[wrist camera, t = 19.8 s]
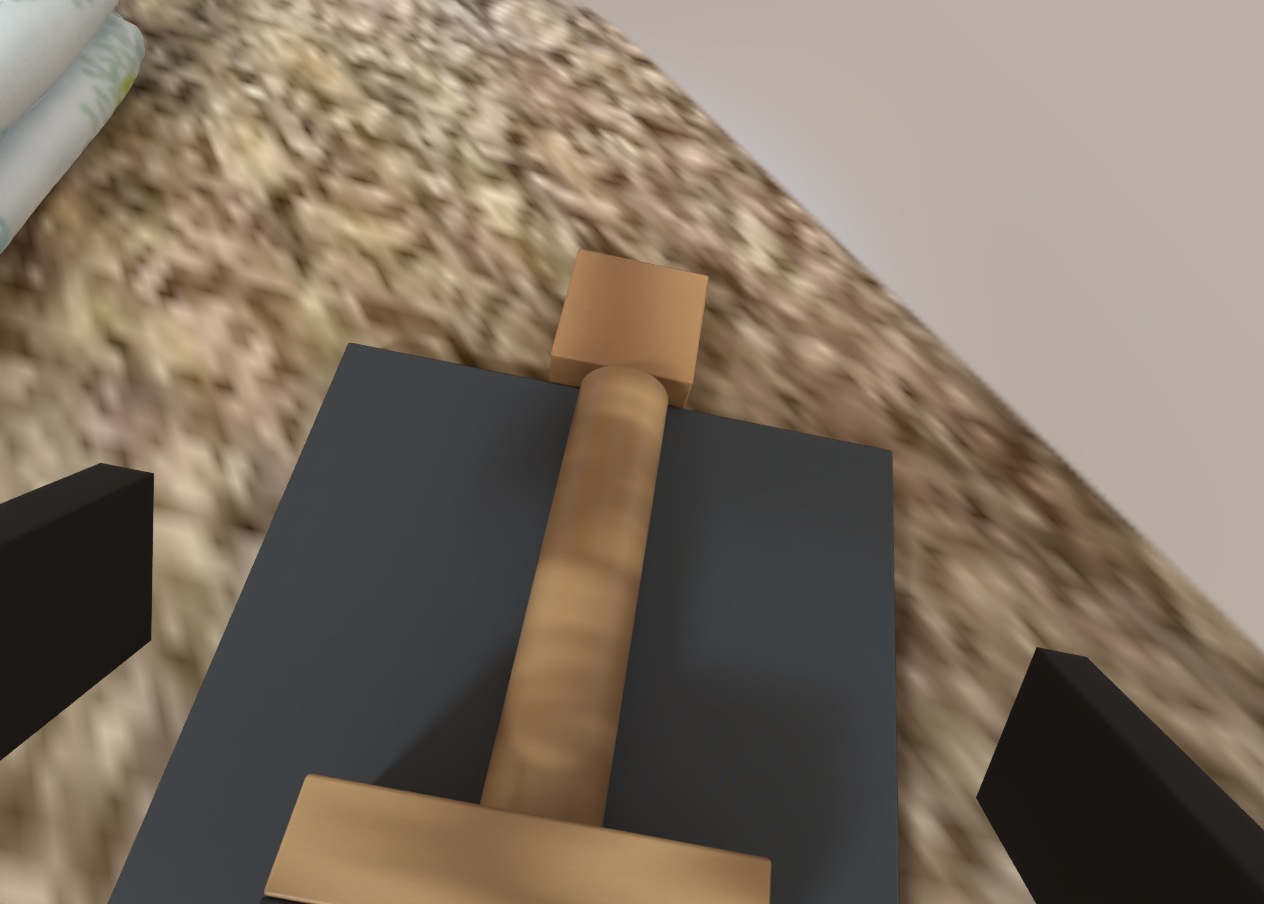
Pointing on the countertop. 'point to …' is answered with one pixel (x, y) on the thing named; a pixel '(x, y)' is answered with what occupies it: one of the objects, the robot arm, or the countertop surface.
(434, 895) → the scrub brush
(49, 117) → the towel
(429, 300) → the countertop surface
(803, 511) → the serving tray
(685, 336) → the wooden square block
